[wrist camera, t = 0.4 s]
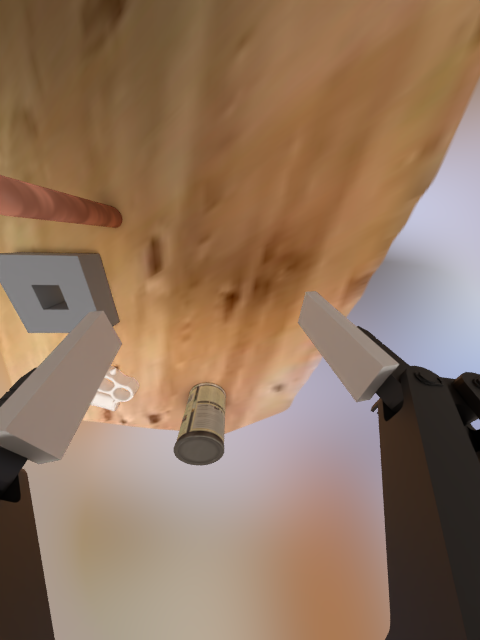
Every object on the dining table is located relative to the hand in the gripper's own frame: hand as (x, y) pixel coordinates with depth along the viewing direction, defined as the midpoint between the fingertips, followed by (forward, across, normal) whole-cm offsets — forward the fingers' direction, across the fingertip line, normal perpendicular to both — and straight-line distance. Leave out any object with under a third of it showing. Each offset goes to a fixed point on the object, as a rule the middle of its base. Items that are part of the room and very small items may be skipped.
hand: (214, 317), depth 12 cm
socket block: (+27, -27, -9) cm, 39 cm away
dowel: (+28, -16, +4) cm, 32 cm away
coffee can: (+18, -4, -39) cm, 43 cm away
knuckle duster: (+23, -30, -32) cm, 50 cm away
